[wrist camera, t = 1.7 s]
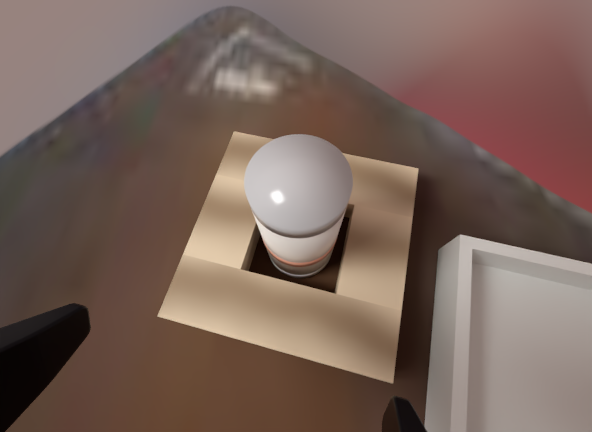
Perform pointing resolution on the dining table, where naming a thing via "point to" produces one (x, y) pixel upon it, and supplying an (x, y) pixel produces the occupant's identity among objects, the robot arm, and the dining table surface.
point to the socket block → (294, 297)
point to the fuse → (298, 200)
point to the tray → (509, 341)
